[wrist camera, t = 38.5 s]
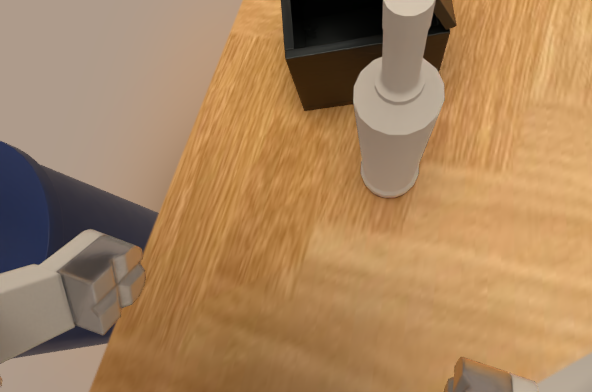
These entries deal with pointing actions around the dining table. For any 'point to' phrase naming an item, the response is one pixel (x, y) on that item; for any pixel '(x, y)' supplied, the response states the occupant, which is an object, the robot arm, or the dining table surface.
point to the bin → (339, 46)
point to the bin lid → (445, 13)
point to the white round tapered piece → (397, 100)
